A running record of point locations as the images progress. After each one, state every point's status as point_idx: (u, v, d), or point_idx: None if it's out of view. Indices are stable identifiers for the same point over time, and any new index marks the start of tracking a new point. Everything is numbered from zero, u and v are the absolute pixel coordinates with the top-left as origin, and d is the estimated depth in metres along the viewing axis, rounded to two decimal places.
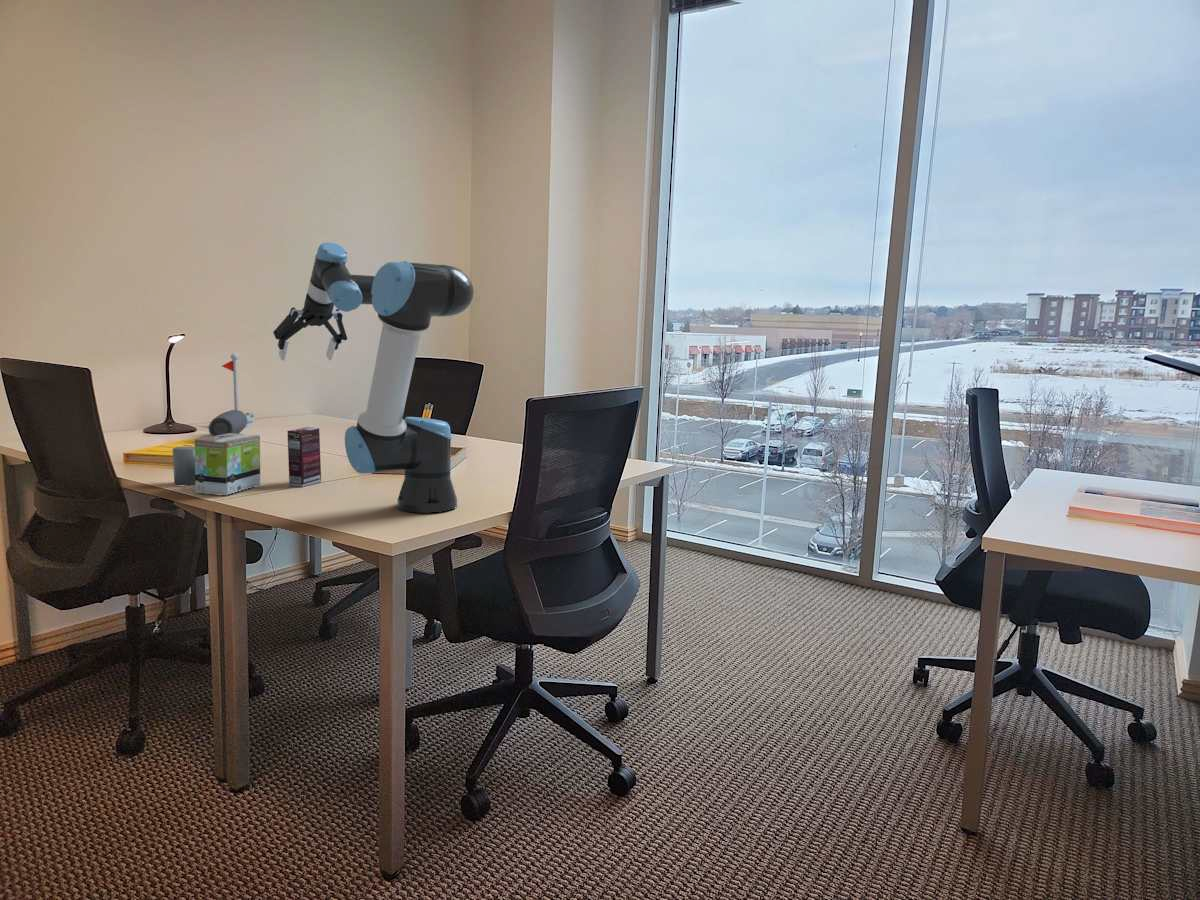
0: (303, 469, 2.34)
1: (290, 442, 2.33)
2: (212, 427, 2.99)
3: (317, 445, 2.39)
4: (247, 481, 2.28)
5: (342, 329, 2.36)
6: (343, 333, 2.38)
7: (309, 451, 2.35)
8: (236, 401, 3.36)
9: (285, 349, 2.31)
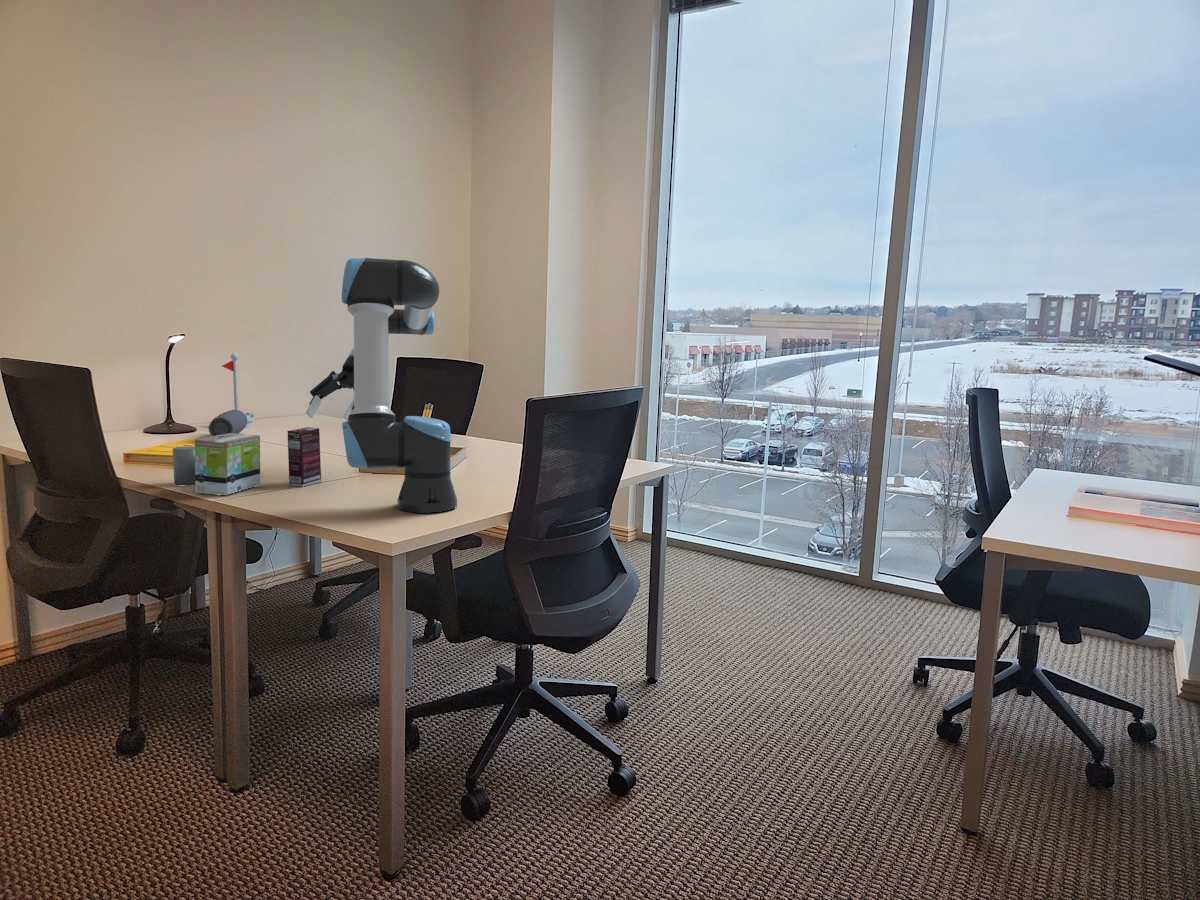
0: (303, 469, 2.34)
1: (290, 442, 2.33)
2: (212, 427, 2.99)
3: (317, 445, 2.39)
4: (247, 481, 2.28)
5: None
6: None
7: (309, 451, 2.35)
8: (236, 401, 3.36)
9: (312, 402, 2.48)
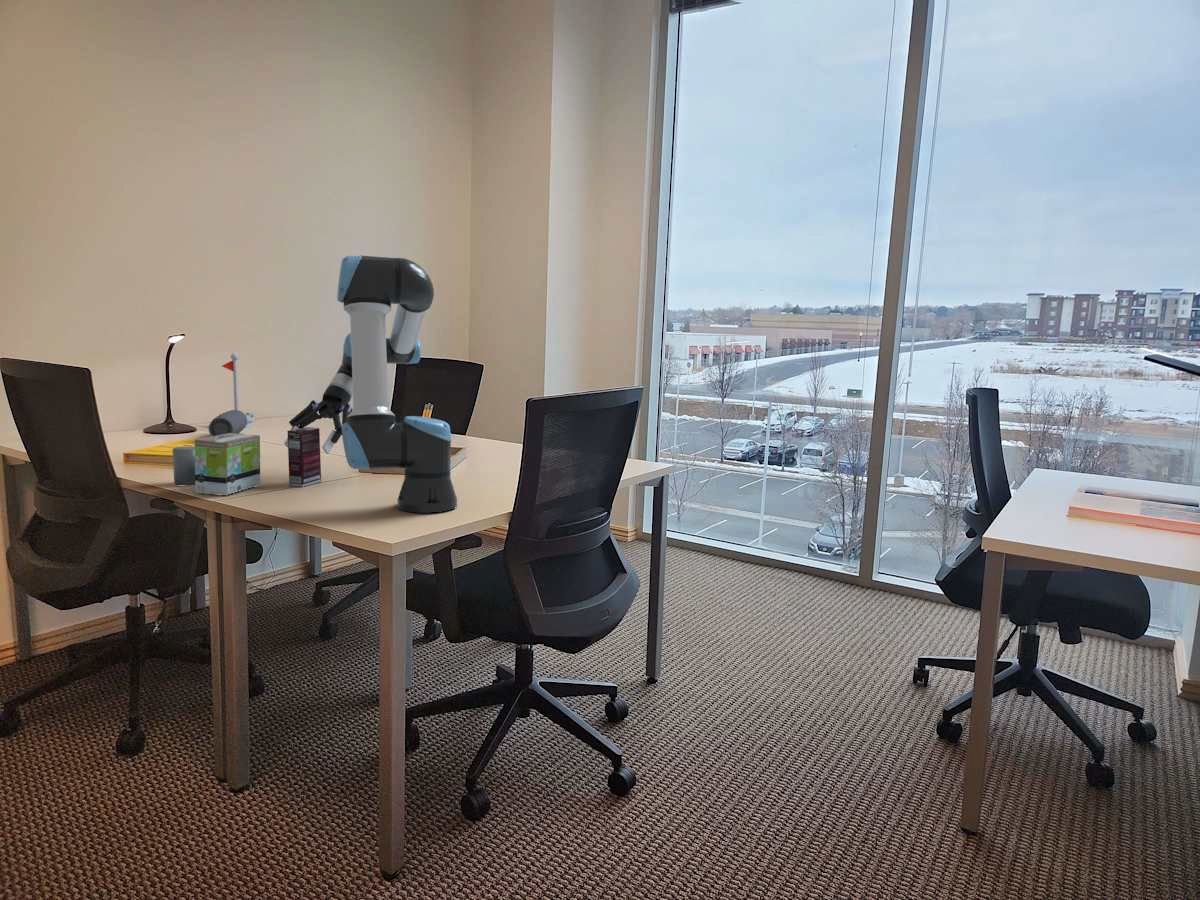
0: (303, 469, 2.34)
1: (291, 442, 2.33)
2: (212, 427, 2.99)
3: (317, 445, 2.39)
4: (247, 481, 2.28)
5: (344, 418, 2.40)
6: (343, 422, 2.39)
7: (309, 451, 2.35)
8: (236, 401, 3.36)
9: None
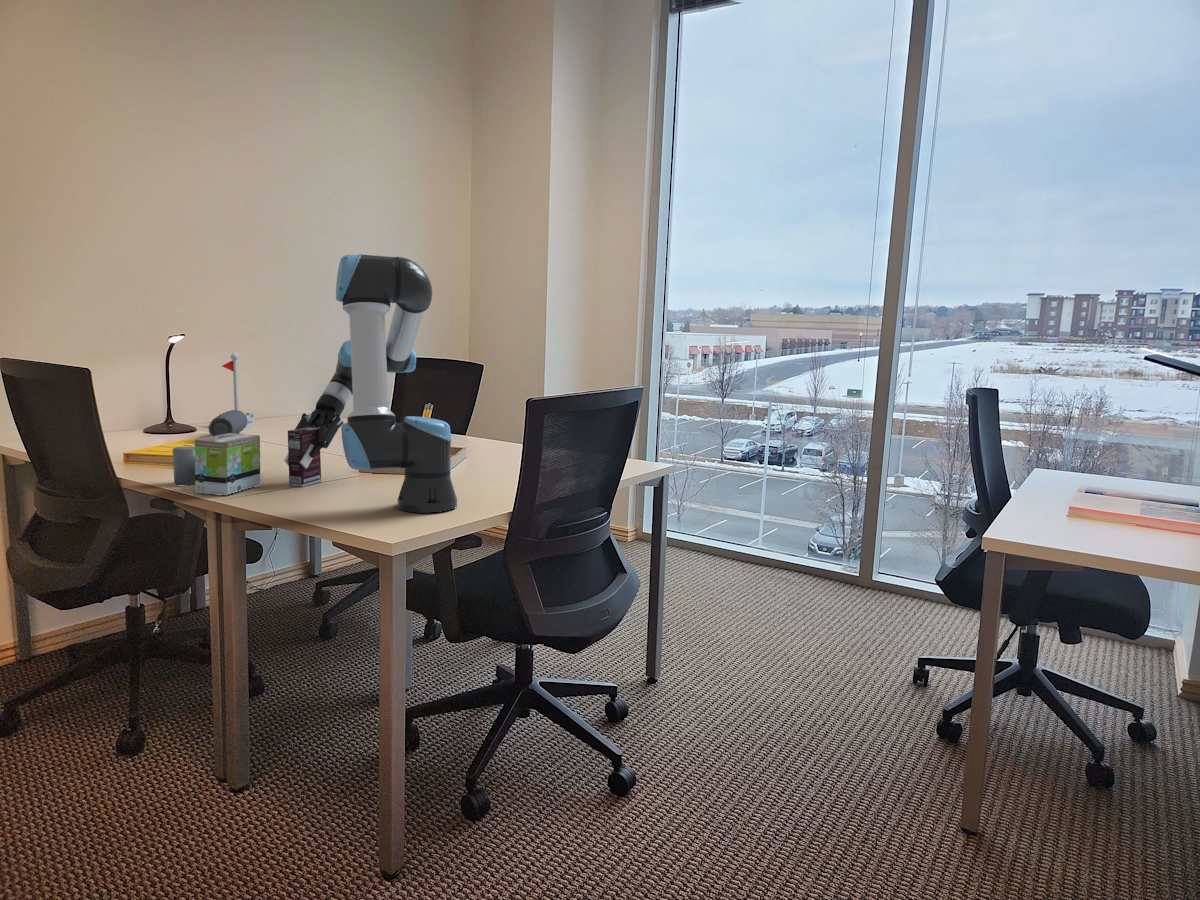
0: (303, 469, 2.34)
1: (291, 442, 2.33)
2: (212, 427, 2.99)
3: None
4: (247, 481, 2.28)
5: (328, 431, 2.37)
6: (325, 435, 2.36)
7: None
8: (236, 401, 3.36)
9: None
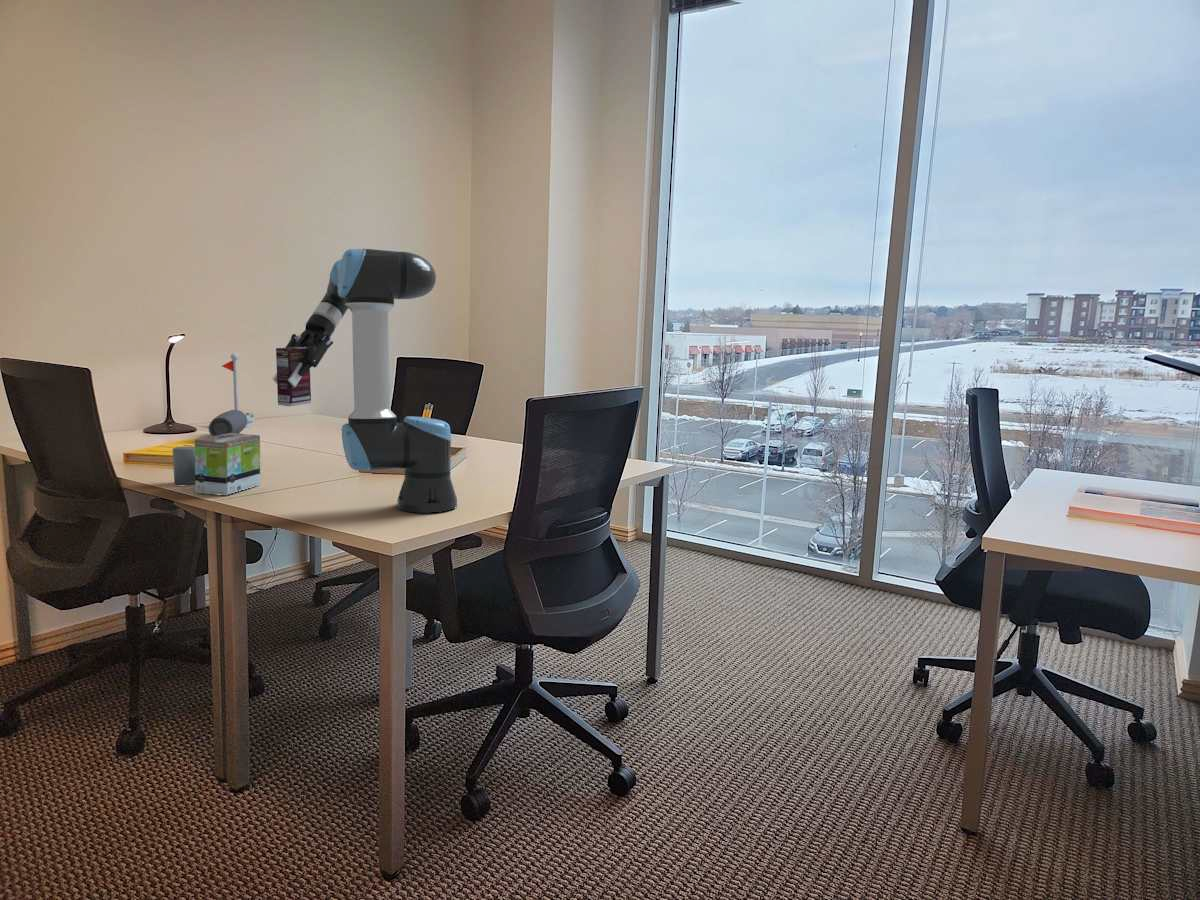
0: (292, 388, 2.29)
1: (279, 360, 2.28)
2: (212, 427, 2.99)
3: None
4: (247, 481, 2.28)
5: (317, 350, 2.33)
6: (314, 354, 2.32)
7: None
8: (236, 401, 3.36)
9: None
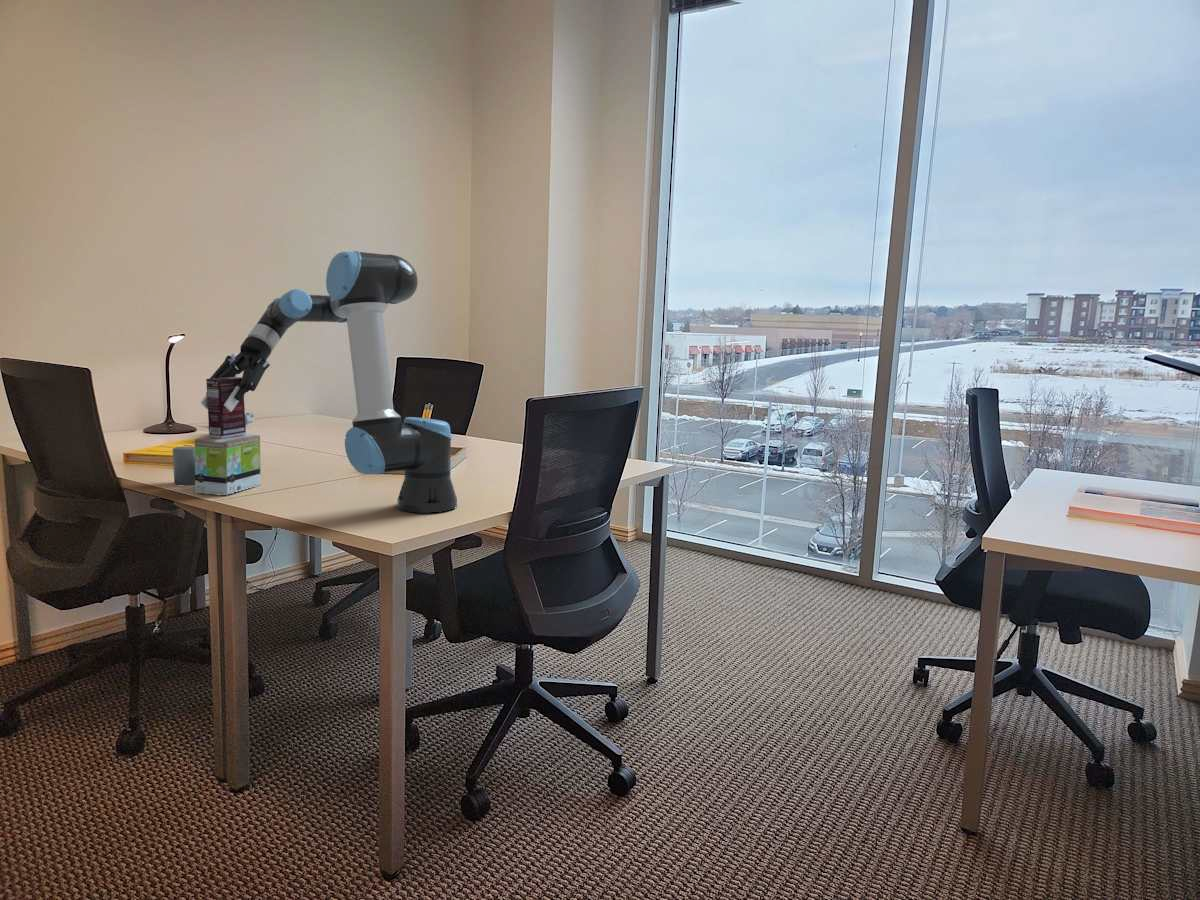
0: (223, 420, 2.21)
1: (209, 391, 2.20)
2: None
3: None
4: (247, 481, 2.28)
5: (253, 373, 2.24)
6: (251, 377, 2.23)
7: None
8: None
9: None
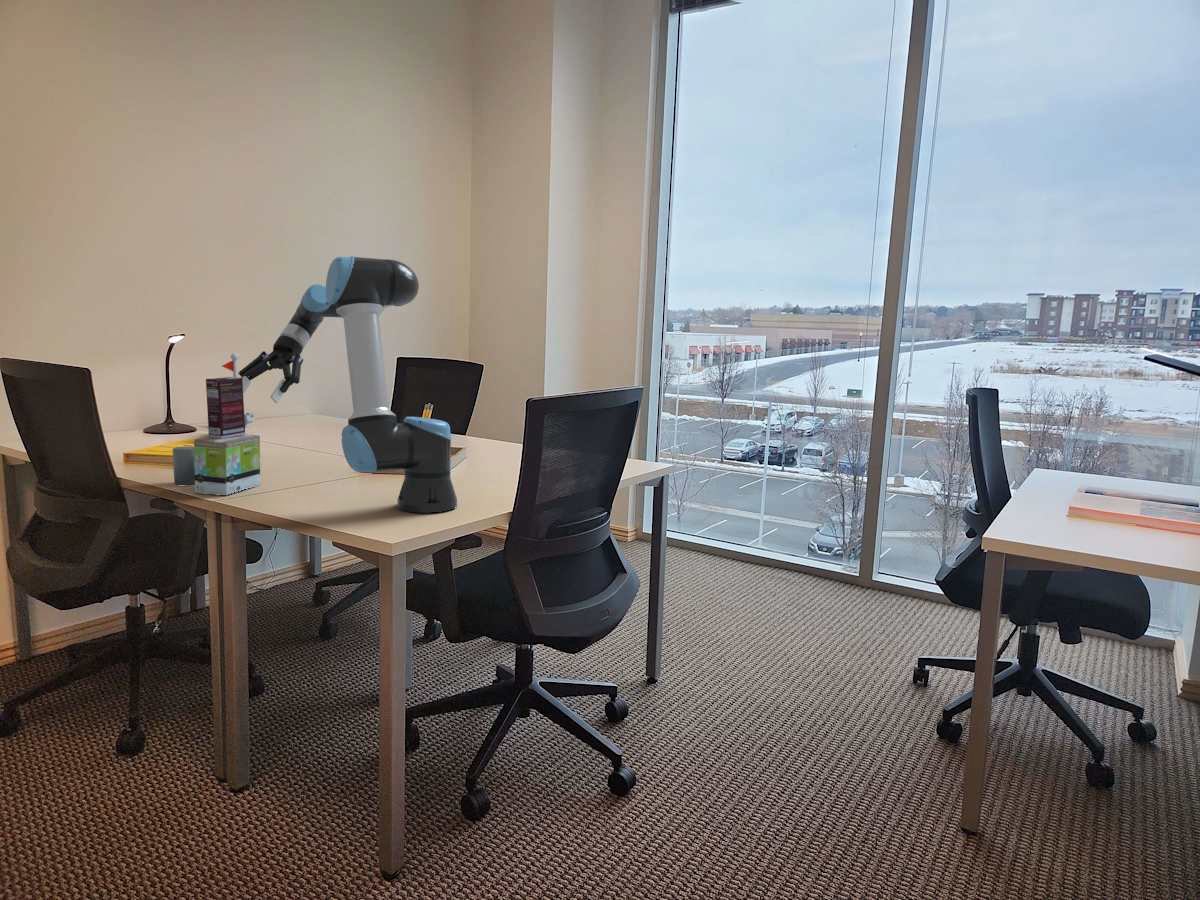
0: (222, 420, 2.21)
1: (209, 391, 2.20)
2: None
3: (240, 395, 2.25)
4: (247, 481, 2.28)
5: (294, 367, 2.36)
6: (293, 371, 2.35)
7: (230, 401, 2.22)
8: None
9: None
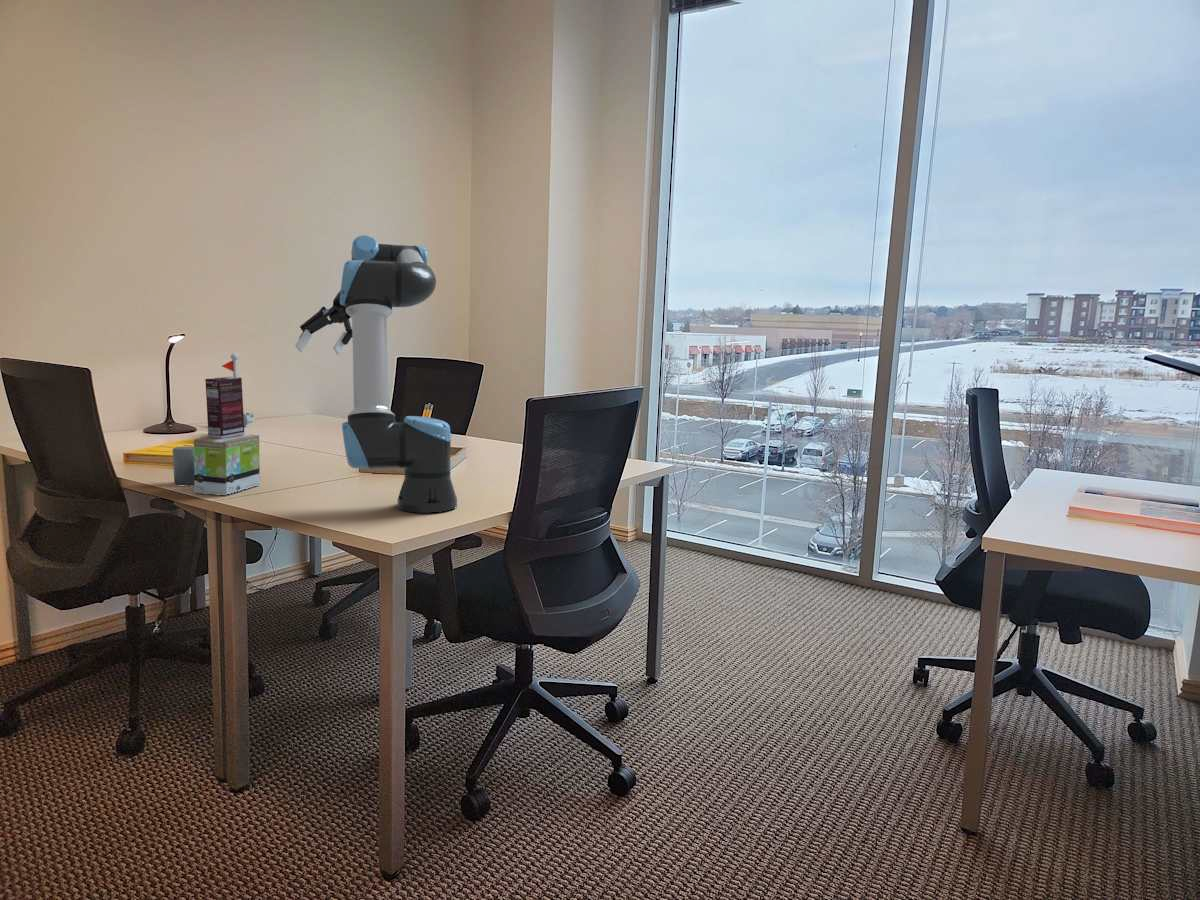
0: (222, 420, 2.21)
1: (209, 391, 2.20)
2: None
3: (239, 395, 2.25)
4: (246, 481, 2.28)
5: None
6: None
7: (229, 401, 2.22)
8: None
9: (302, 336, 2.46)
